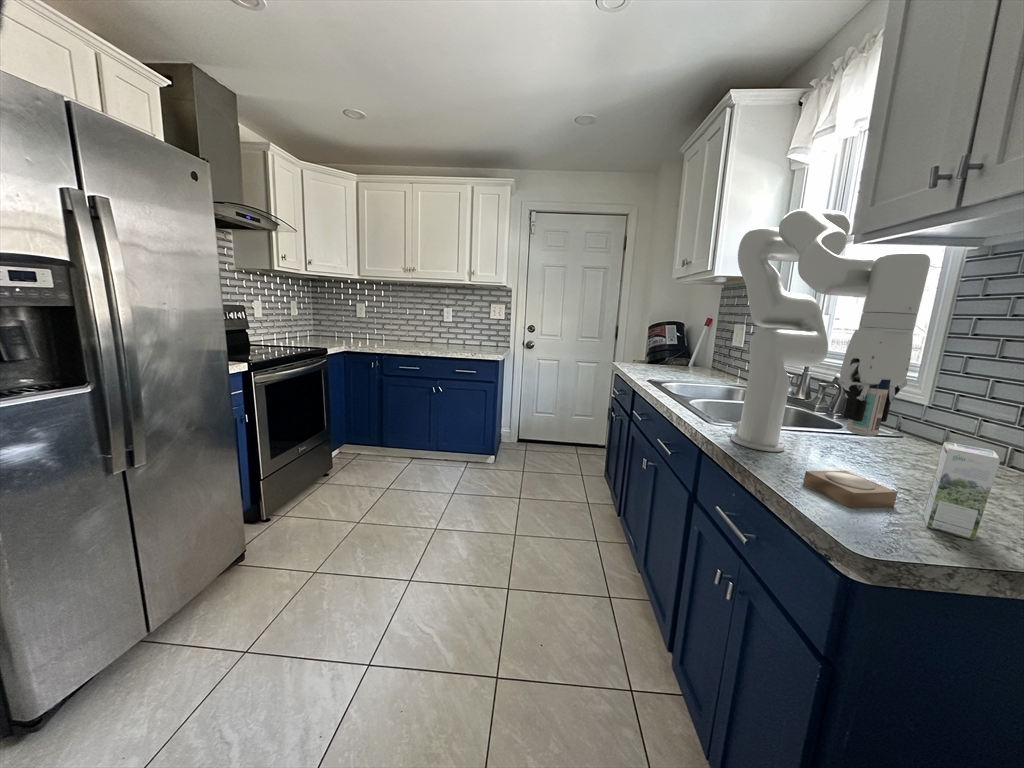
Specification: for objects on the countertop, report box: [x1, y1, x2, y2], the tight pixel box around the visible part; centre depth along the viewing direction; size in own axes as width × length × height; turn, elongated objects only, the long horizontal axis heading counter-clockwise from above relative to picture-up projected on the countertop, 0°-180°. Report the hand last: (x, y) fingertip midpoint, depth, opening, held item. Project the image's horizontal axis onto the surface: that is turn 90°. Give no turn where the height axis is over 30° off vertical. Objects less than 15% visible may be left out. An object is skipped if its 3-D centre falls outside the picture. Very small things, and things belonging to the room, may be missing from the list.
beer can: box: [845, 377, 892, 437], centre depth 76 cm, size 5×5×12 cm
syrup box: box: [923, 441, 1001, 541], centre depth 68 cm, size 6×6×14 cm
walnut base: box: [802, 470, 898, 509], centre depth 80 cm, size 10×10×3 cm
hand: (864, 418), depth 77 cm, fingers closed on beer can, 4 cm apart
